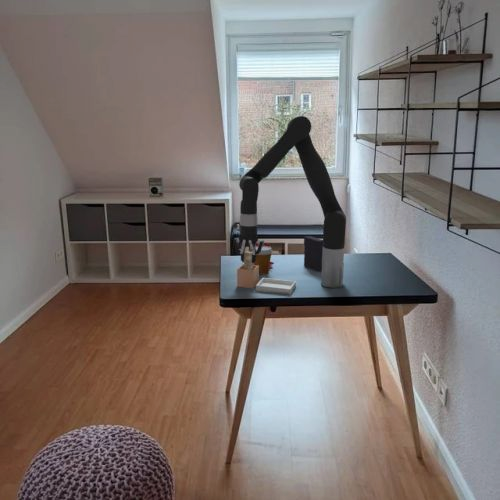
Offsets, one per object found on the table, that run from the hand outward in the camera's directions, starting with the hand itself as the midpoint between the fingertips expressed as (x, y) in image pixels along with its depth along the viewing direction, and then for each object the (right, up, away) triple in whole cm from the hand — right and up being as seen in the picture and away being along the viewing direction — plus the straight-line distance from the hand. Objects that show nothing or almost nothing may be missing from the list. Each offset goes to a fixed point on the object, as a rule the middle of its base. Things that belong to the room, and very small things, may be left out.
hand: (248, 262), depth 219 cm
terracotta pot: (0, -10, +3) cm, 10 cm away
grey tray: (+12, -11, -2) cm, 17 cm away
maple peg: (0, -9, +3) cm, 10 cm away
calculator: (+32, -4, +28) cm, 42 cm away
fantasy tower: (+7, -3, +31) cm, 32 cm away
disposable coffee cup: (+6, -6, +20) cm, 22 cm away
